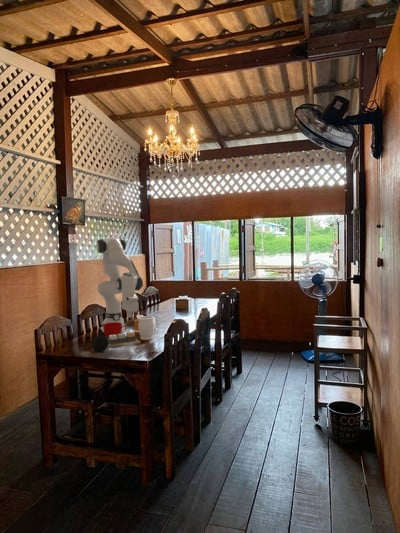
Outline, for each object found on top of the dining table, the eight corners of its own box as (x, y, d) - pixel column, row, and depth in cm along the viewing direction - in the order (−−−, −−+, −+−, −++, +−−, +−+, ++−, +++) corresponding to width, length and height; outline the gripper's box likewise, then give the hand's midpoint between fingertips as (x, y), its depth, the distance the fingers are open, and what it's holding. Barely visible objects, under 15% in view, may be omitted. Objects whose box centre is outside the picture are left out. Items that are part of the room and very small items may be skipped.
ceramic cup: (123, 340, 269) (122, 326, 268) (100, 340, 272) (99, 325, 272) (130, 336, 282) (129, 322, 281) (108, 335, 285) (108, 322, 284)
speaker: (111, 351, 243) (111, 335, 243) (98, 354, 236) (97, 338, 235) (102, 348, 250) (102, 333, 249) (89, 351, 243) (88, 336, 242)
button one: (109, 339, 258) (109, 335, 258) (115, 338, 260) (114, 334, 260) (111, 341, 255) (111, 336, 254) (117, 340, 257) (117, 335, 256)
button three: (126, 337, 264) (126, 332, 264) (132, 336, 266) (131, 331, 266) (128, 338, 261) (128, 333, 261) (134, 337, 263) (134, 332, 263)
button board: (103, 344, 260) (103, 338, 259) (134, 339, 271) (134, 333, 271) (108, 348, 250) (108, 341, 250) (140, 342, 262) (140, 336, 262)
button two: (117, 338, 261) (117, 333, 261) (123, 337, 263) (123, 332, 263) (120, 339, 258) (119, 334, 258) (125, 338, 260) (125, 334, 260)
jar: (139, 341, 267) (138, 319, 266) (137, 337, 277) (137, 316, 276) (155, 339, 270) (154, 318, 269) (152, 336, 280) (152, 315, 279)
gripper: (119, 295, 269) (119, 315, 270) (130, 299, 252) (130, 320, 253) (127, 295, 273) (128, 314, 273) (139, 298, 255) (139, 319, 256)
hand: (129, 317), depth 263 cm, fingers closed
